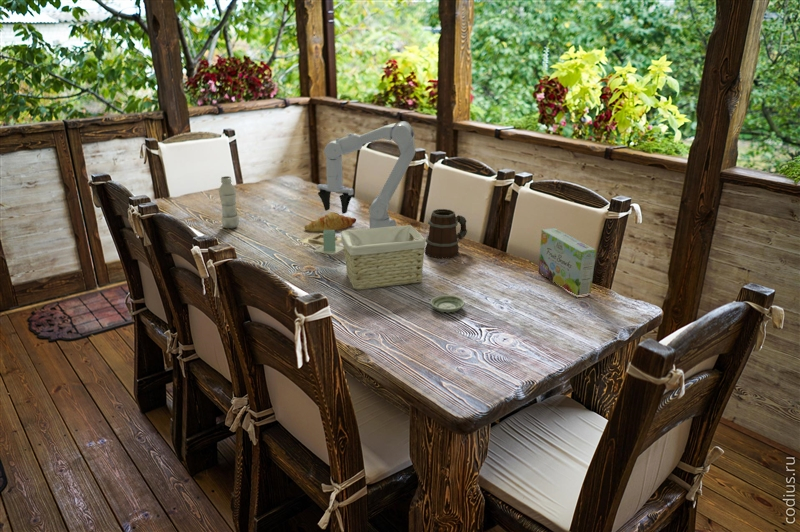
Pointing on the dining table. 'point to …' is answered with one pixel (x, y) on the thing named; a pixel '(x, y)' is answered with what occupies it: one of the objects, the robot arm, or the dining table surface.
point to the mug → (444, 234)
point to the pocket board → (318, 240)
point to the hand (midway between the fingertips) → (335, 211)
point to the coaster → (329, 251)
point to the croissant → (330, 222)
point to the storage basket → (383, 256)
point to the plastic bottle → (228, 203)
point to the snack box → (566, 261)
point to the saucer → (447, 303)
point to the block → (329, 240)
